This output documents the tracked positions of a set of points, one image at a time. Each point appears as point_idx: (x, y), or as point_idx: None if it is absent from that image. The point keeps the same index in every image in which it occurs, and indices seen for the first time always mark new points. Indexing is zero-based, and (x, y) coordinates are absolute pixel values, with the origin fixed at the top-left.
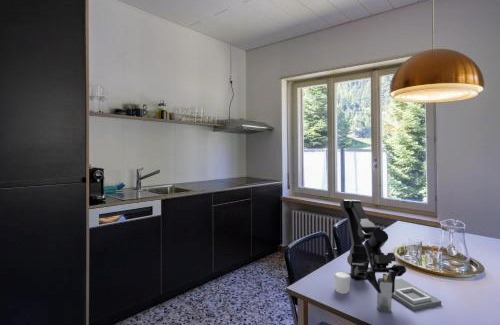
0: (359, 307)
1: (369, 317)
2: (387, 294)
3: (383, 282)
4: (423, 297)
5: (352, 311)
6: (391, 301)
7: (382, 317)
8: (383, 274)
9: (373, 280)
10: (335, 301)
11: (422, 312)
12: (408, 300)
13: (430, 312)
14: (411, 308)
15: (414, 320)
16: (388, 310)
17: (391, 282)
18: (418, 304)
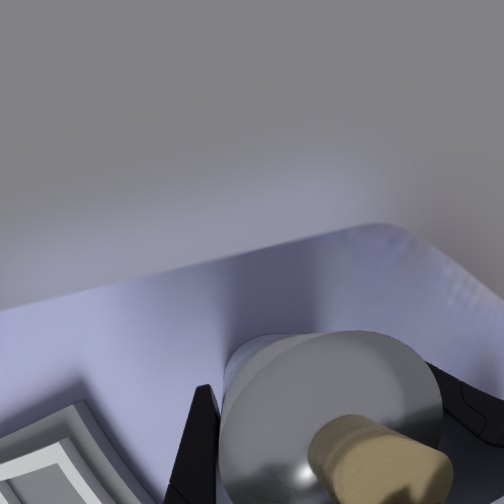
0: (414, 346)
1: (371, 251)
2: (285, 335)
3: (381, 385)
4: (8, 476)
5: (444, 288)
6: (228, 370)
7: (299, 271)
8: (440, 488)
9: (486, 393)
10: (499, 357)
11: (43, 383)
12: (89, 471)
13: (11, 385)
14: (89, 413)
15: (108, 285)
16: (251, 340)
17: (235, 434)
18: (42, 430)
